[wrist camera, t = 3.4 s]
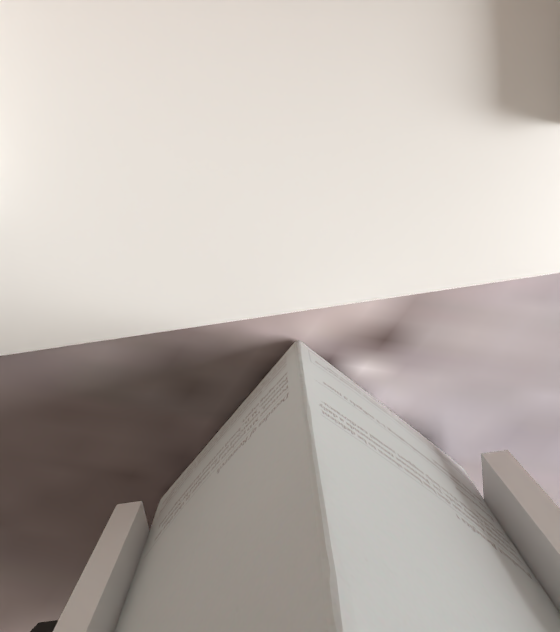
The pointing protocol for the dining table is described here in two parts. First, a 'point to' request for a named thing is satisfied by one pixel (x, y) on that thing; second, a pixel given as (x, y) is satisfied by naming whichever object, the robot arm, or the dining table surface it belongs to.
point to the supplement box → (327, 526)
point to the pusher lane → (267, 158)
